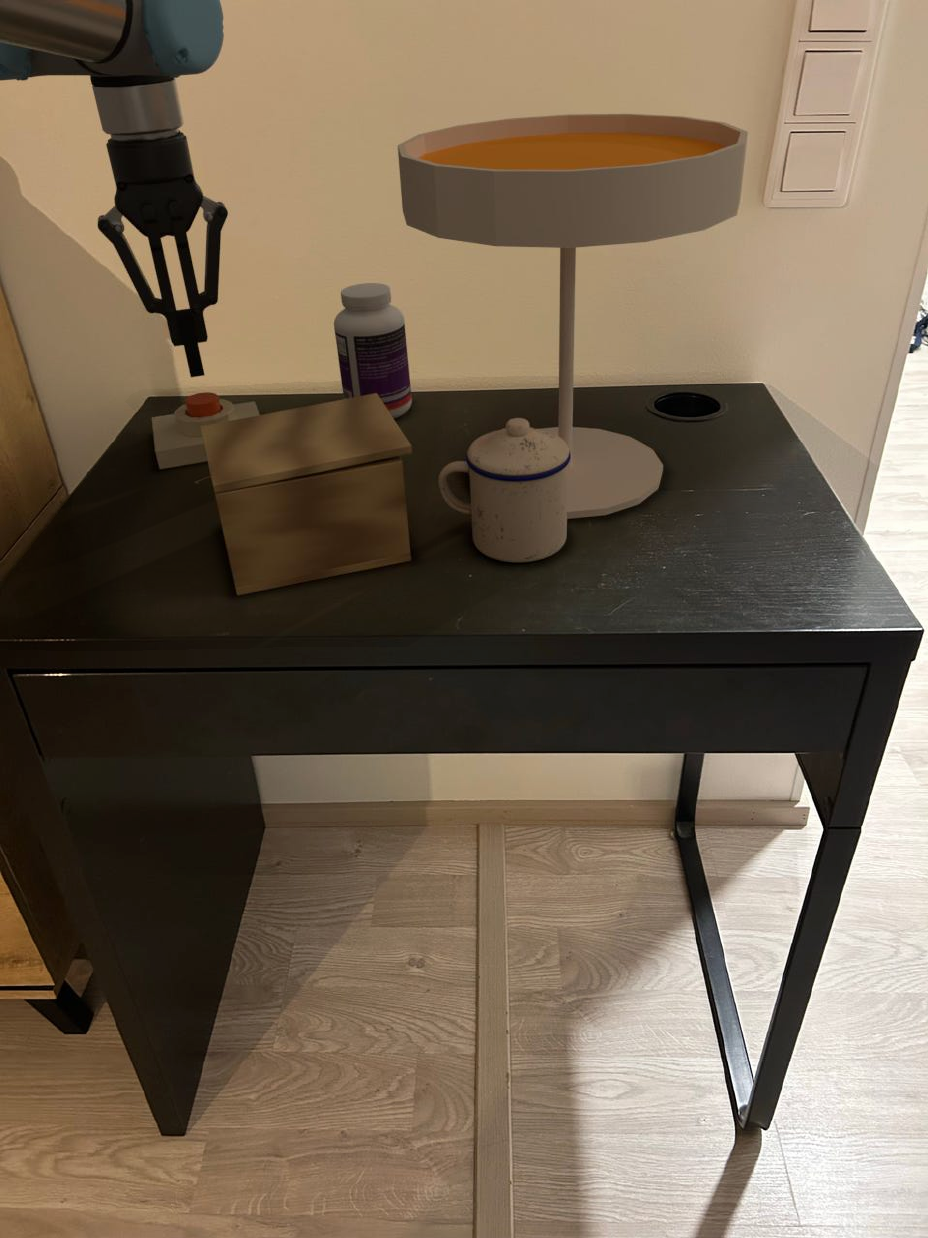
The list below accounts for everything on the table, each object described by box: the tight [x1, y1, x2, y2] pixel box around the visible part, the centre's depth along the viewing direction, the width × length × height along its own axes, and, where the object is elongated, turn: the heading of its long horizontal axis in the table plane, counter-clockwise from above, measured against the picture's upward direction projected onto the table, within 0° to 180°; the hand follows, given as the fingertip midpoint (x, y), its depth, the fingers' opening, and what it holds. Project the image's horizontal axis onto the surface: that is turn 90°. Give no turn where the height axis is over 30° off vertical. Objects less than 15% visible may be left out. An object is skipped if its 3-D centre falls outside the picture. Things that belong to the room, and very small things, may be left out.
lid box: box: [213, 456, 412, 596], centre depth 86 cm, size 16×13×10 cm
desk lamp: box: [397, 113, 749, 520], centre depth 90 cm, size 30×30×31 cm
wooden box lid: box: [200, 393, 413, 494], centre depth 83 cm, size 16×13×1 cm
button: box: [184, 391, 221, 417], centre depth 107 cm, size 4×4×2 cm
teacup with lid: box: [437, 417, 571, 563], centre depth 85 cm, size 12×9×12 cm
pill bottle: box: [333, 282, 413, 420], centre depth 110 cm, size 8×8×14 cm
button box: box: [151, 398, 261, 470], centre depth 108 cm, size 12×10×4 cm
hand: (196, 371), depth 105 cm, fingers closed
